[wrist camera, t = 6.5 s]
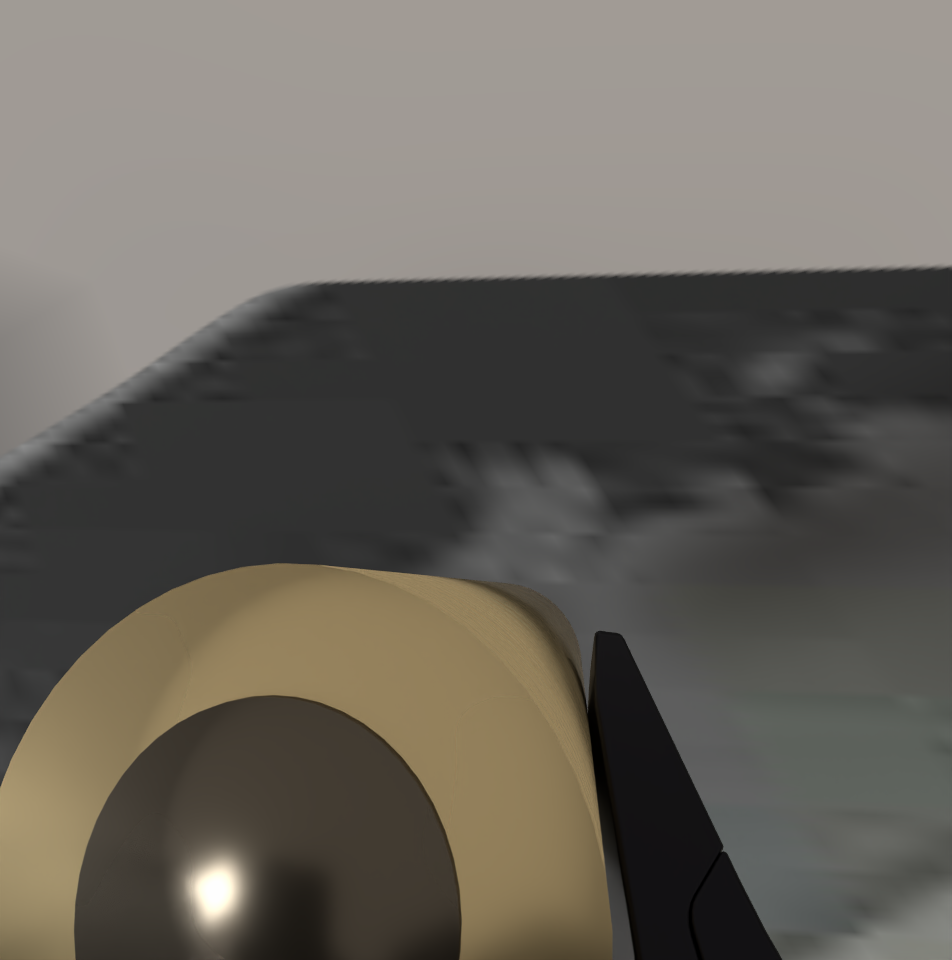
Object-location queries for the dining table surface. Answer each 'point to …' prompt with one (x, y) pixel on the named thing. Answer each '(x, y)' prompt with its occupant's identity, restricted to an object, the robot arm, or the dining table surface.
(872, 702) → the dining table surface
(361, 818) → the bushing
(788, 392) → the dining table surface
